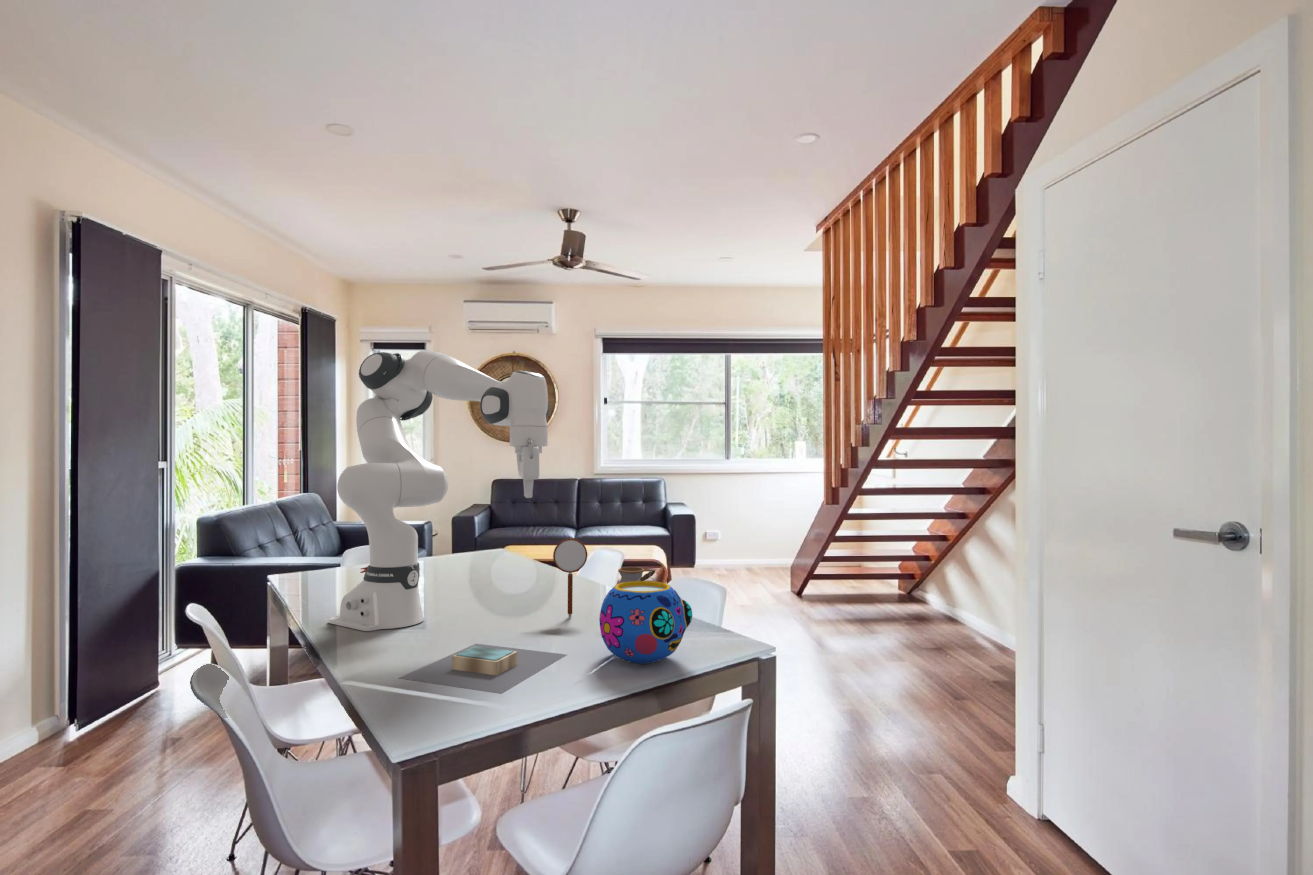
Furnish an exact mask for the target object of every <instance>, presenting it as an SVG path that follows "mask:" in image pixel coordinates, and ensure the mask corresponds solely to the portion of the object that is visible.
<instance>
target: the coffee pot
mask: <svg viewBox="0 0 1313 875" xmlns="http://www.w3.org/2000/svg"><path fill="white" fill-rule="evenodd" d="M617 571H618V573H619V575H620V577H621V578H620V580H619V581H618V582H619V583H624V582H631V581H648V580H649V579H652V580H654V577H653V575H655V573H656V574H657V577H655V580H657V579H658V578H659V577H660V576H659V572H657V571H656V570H649V571H648V572H647V573H645V574H644V572H645V568H643V567H638V566H635V567H634V566H628V567H627V566H626V567H621V568H618V570H617ZM643 574H644V575H643ZM652 577H653V578H652ZM619 583H618V584H619Z"/></svg>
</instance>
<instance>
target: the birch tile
mask: <svg viewBox="0 0 1313 875" xmlns="http://www.w3.org/2000/svg"><path fill="white" fill-rule="evenodd" d="M516 665H517V652H516V651H510V650H502V649H493V648H485V647H477V646H474V647H471V648H469V649H467V650H465V651H462V652H460V653H458V654H456V655H453V656H452V669H454V670H461V671H468V672H475V673H482V674H490V675H499V674H501V673H503V672H504V671H506V670H508V669H510V668H512V667H514V666H516Z"/></svg>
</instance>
